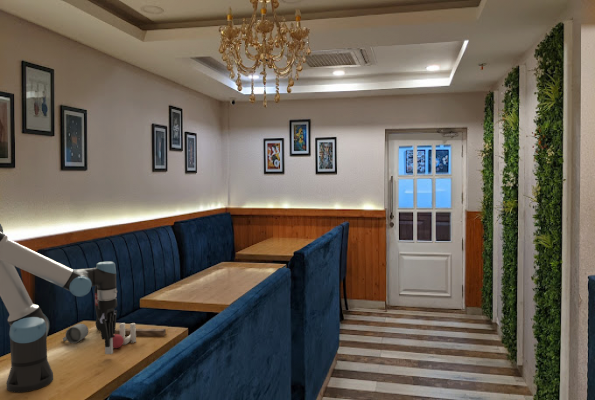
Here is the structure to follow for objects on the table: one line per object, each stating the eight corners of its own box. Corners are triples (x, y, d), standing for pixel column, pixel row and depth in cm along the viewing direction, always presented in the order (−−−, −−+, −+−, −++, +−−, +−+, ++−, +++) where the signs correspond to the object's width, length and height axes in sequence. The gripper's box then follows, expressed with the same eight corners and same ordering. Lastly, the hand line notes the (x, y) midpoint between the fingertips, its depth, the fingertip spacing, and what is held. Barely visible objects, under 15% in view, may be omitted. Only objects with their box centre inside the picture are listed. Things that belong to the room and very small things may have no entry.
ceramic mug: (89, 337, 224) (89, 321, 224) (81, 343, 216) (80, 327, 215) (68, 337, 224) (67, 322, 224) (59, 343, 216) (58, 327, 216)
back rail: (165, 333, 227) (165, 328, 227) (163, 335, 224) (163, 330, 224) (117, 333, 229) (117, 328, 229) (115, 335, 226) (114, 330, 226)
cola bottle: (100, 326, 241) (98, 268, 239) (116, 326, 240) (114, 268, 239) (92, 331, 232) (90, 272, 231) (109, 331, 232) (107, 272, 230)
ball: (118, 347, 213) (116, 352, 207) (107, 340, 211) (105, 345, 205) (127, 337, 213) (125, 342, 207) (116, 329, 212) (114, 334, 206)
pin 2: (130, 343, 215) (130, 325, 215) (130, 341, 217) (129, 323, 217) (136, 342, 216) (135, 324, 216) (135, 340, 218) (135, 322, 218)
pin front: (123, 338, 213) (131, 332, 221) (121, 343, 213) (128, 336, 222) (128, 341, 213) (135, 335, 221) (125, 345, 213) (133, 339, 222)
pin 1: (120, 343, 215) (119, 325, 215) (119, 341, 217) (119, 323, 217) (125, 342, 216) (125, 324, 216) (125, 340, 218) (124, 322, 218)
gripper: (108, 302, 190) (110, 359, 191) (122, 294, 203) (124, 347, 204) (91, 302, 190) (93, 359, 191) (105, 294, 203) (107, 347, 204)
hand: (109, 353), depth 198 cm, fingers closed
